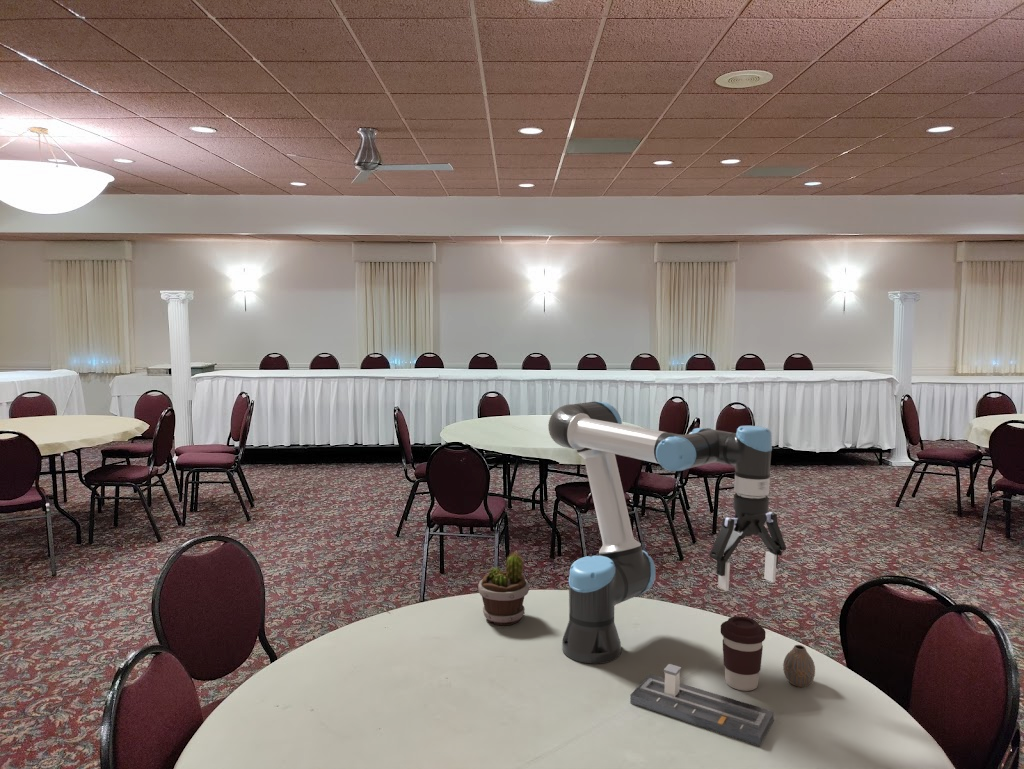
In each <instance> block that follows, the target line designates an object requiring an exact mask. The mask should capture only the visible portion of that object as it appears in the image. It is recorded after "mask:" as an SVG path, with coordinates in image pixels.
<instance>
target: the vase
mask: <svg viewBox="0 0 1024 769" xmlns="http://www.w3.org/2000/svg"><path fill="white" fill-rule="evenodd" d="M782 667H783V669H782V670H783V674H784V676H785V678H786V680H787V682H789V683H790V685H792V686H795V687H799V688H805V687H808V686H810V685H811V684H812V683H813V681H814V679H815V676H816V666H815V662H814V660H813V658H812V657H811V655H810V654H809V653H808V651H807V648H806V646H805V645H802V644H795V645H794V646H793V647H792V649H791V650H790V651H788V653H787V654H786V655H785V657H784V660H783V663H782Z"/></svg>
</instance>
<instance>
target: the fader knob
mask: <svg viewBox="0 0 1024 769" xmlns="http://www.w3.org/2000/svg"><path fill="white" fill-rule="evenodd" d="M681 671H682V667H681V666H679V665H674V664H672V663H668V664H667V665H666V667H664V669H663V673H664V678H665V691H664V694H668V695H671V696H674V697H675V696H676V695H677V694H678V693H679V688H680V683H681V682H680V676H681Z"/></svg>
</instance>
